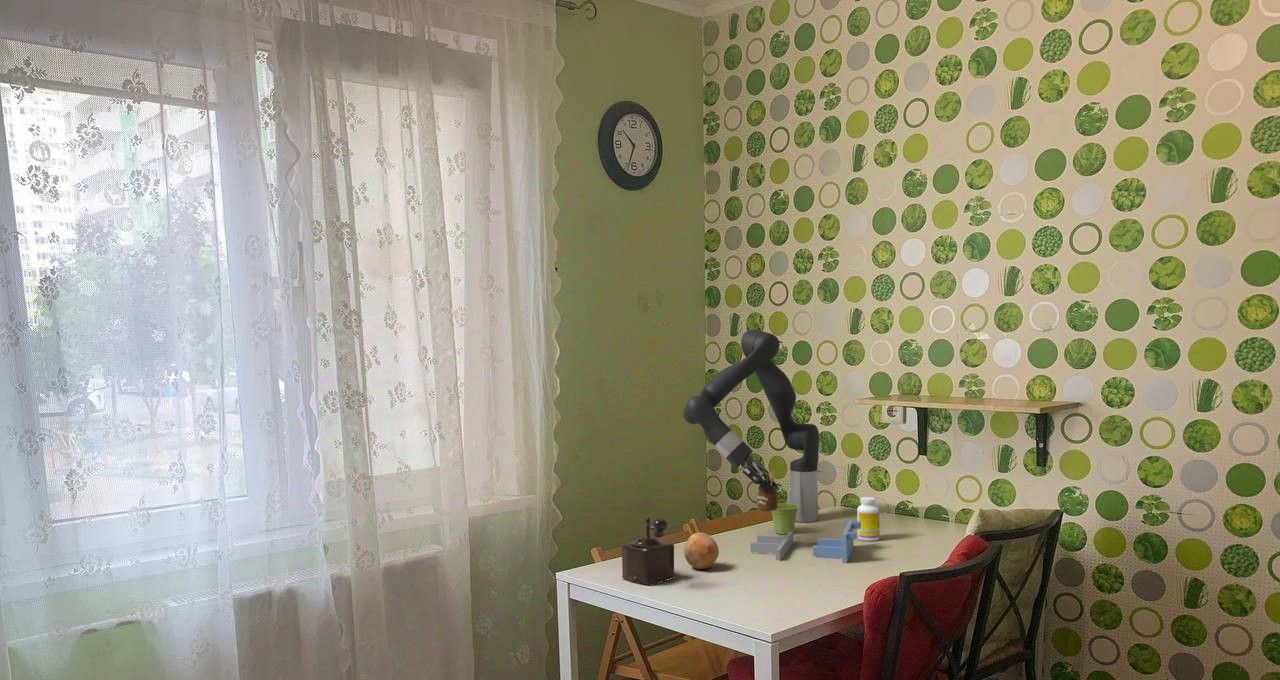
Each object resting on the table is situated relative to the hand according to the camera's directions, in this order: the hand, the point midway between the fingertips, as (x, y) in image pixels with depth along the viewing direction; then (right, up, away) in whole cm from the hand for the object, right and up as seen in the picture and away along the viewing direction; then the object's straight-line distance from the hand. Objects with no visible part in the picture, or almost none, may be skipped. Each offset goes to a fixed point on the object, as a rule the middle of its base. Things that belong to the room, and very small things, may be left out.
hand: (773, 489), depth 275 cm
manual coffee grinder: (-36, -20, -30) cm, 51 cm away
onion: (-23, -19, -19) cm, 35 cm away
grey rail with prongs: (-1, -18, +1) cm, 18 cm away
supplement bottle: (+31, -18, +11) cm, 38 cm away
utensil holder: (-2, -6, +1) cm, 6 cm away
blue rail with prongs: (+18, -18, -6) cm, 26 cm away
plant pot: (+7, -18, +23) cm, 30 cm away
